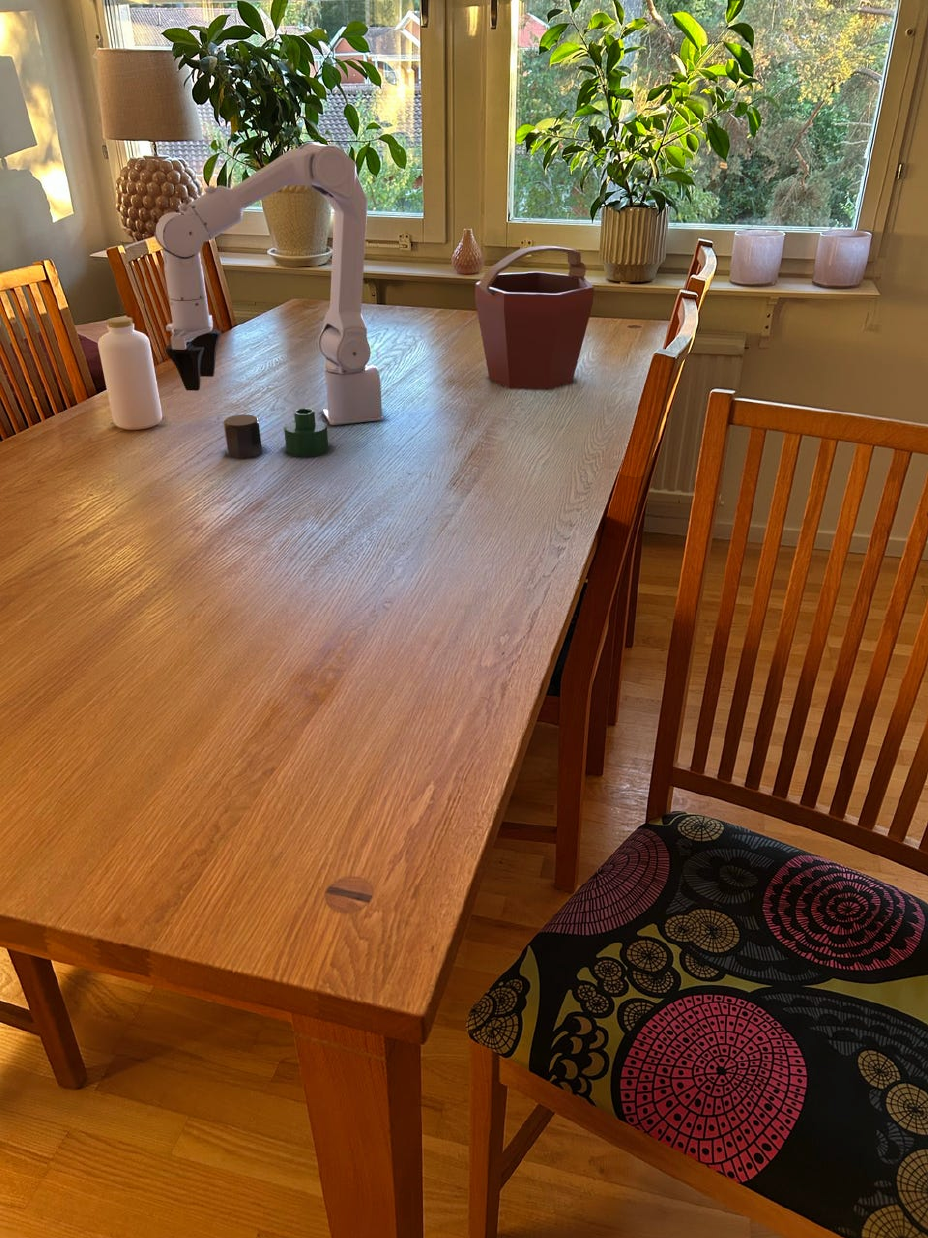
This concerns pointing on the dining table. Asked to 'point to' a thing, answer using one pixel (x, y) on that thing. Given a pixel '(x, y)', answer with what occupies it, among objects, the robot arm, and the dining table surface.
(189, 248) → the robot arm
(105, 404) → the dining table surface
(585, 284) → the bucket
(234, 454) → the faceted brown jar
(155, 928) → the dining table surface
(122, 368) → the potion bottle
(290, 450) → the bottle
